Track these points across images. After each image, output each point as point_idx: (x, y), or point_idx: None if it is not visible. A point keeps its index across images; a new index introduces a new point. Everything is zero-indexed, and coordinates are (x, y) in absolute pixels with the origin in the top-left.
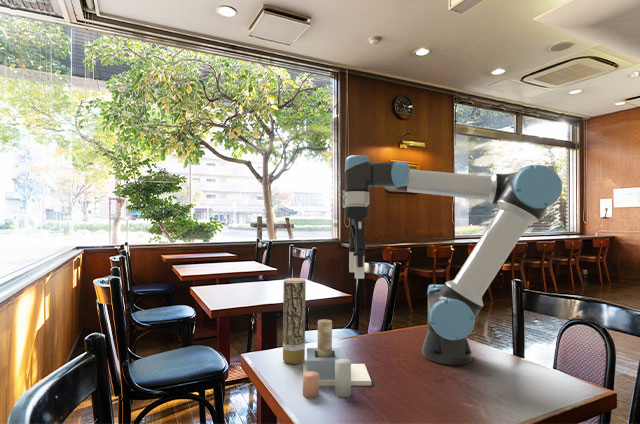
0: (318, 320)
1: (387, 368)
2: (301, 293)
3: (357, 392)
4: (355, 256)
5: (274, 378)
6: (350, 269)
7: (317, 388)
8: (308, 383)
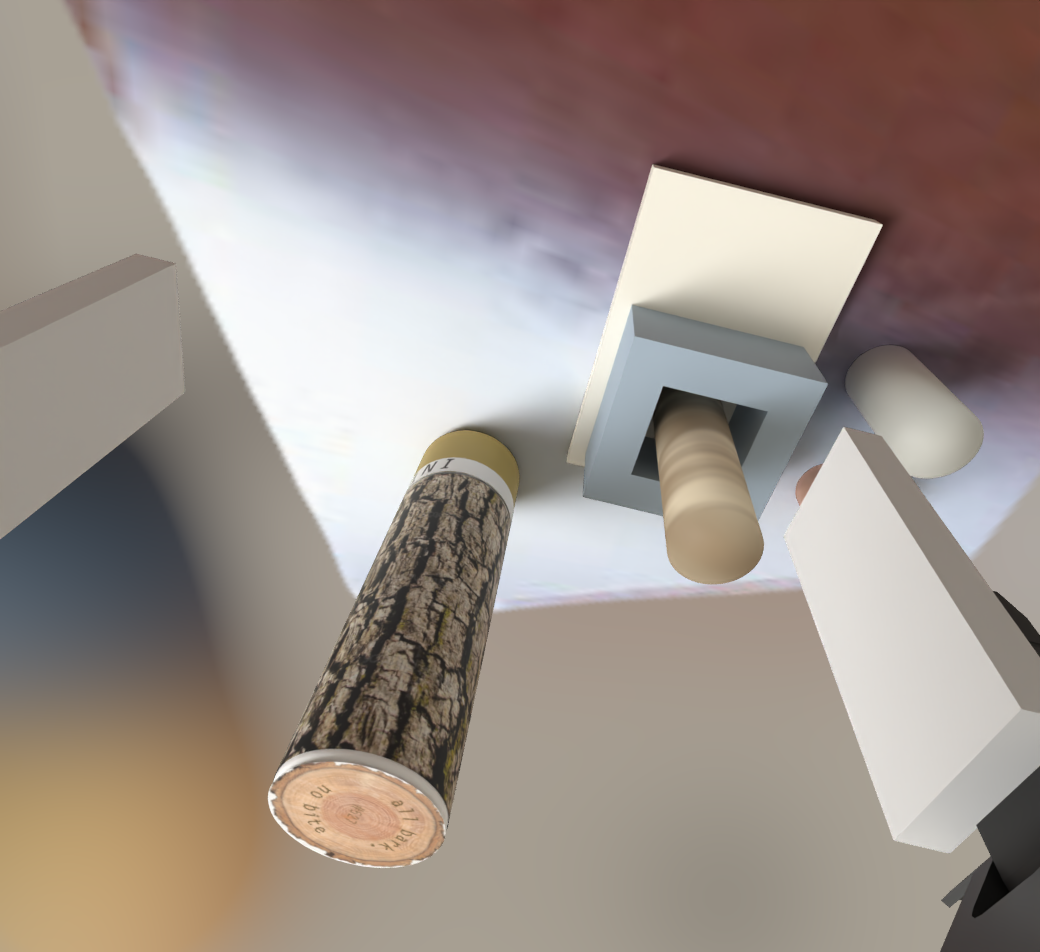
0: (681, 573)
1: (706, 9)
2: (454, 713)
3: (905, 314)
4: (945, 836)
5: (634, 565)
6: (159, 398)
7: None
8: None
